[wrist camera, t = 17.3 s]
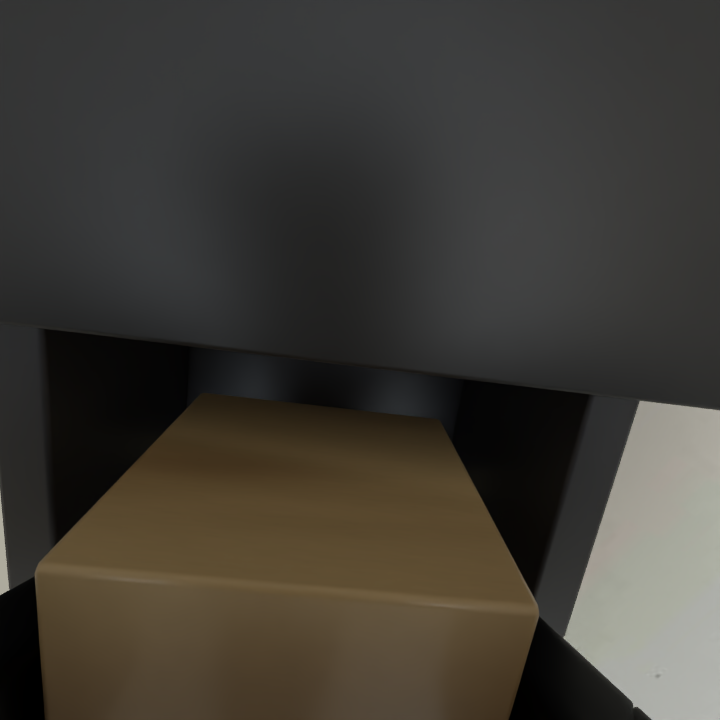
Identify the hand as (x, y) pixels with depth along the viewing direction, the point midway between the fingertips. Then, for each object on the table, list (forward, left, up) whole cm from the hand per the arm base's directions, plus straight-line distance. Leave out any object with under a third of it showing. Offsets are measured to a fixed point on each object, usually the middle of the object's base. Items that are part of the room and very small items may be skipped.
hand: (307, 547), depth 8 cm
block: (0, 0, -1) cm, 1 cm away
